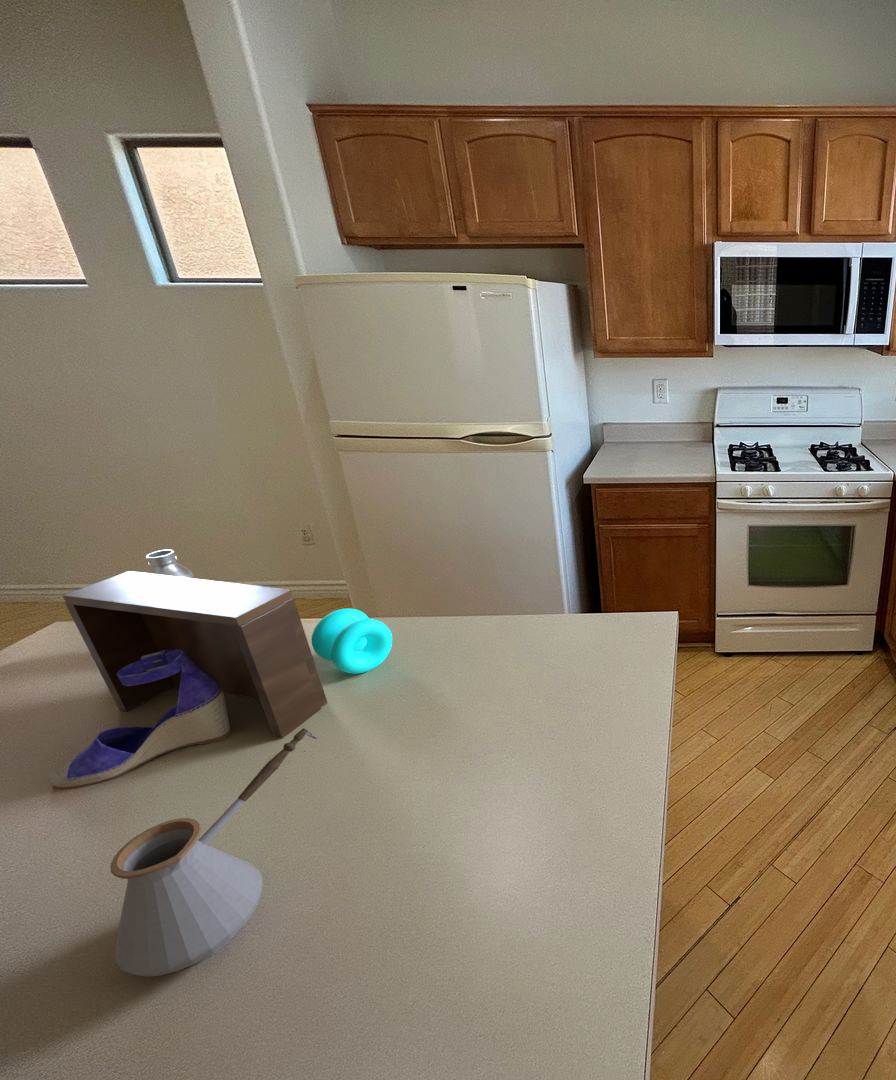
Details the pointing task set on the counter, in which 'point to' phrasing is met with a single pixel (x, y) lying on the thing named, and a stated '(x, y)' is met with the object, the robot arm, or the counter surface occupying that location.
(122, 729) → the sandal
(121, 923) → the coffee pot
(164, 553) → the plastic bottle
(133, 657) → the shoe rack
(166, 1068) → the counter surface
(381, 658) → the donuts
